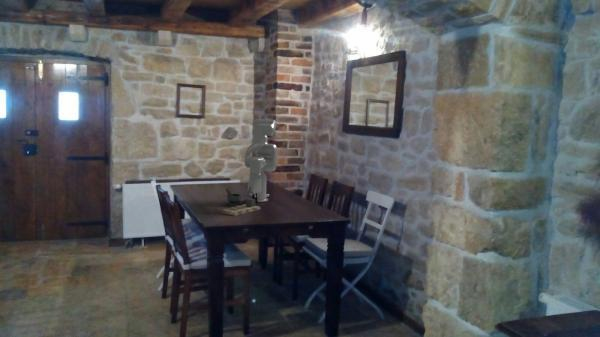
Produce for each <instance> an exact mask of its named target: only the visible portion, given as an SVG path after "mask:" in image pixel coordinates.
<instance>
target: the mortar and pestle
mask: <svg viewBox="0 0 600 337" xmlns="http://www.w3.org/2000/svg"><path fill="white" fill-rule="evenodd" d="M225 191H226V193H227V200H228V202H229V206H233V207H236V206H239V203H240V201H241V199H242V195H241V194H240V193H233V192H232V191H231V190H230V188H229V187H227V188H226V189H225Z"/></svg>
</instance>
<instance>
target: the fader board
mask: <svg viewBox="0 0 600 337" xmlns="http://www.w3.org/2000/svg"><path fill="white" fill-rule="evenodd" d="M259 210H261V205H260V206H259V205H255V206H246V203H245V204H242V205H241V204H240V205H236V206H233V207H229V208H228V207H227V208H223V209H220V214H225V215H230V216H239V215H243V214H246V213H250V212H252V213H253V212H256V211H259Z"/></svg>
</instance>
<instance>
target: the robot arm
mask: <svg viewBox="0 0 600 337" xmlns="http://www.w3.org/2000/svg"><path fill="white" fill-rule="evenodd" d="M252 128H253V137H252V144H250V145H249V146H248V147H247V148H246V151H245V152H244V153H245V154H244V167H246V168H249V179H248V182H247V184H248V185H247V193H248V194H249V196H251V197H250V198H251V199H255V205H256V204H258V203H259V202H260V203H261V202H262V203H265V202H268V201H269V198H268V197H270V194H269V193H267V175H266V173H265V172H275V171H276V169H277V162H278V161H277V160H278V147H277V145H276V144H275V143H268V139H269V138H268V137H273V136H274V135H275V132H276V129H277V121H276V120H275V119H268V118H267V119H266V118H256V119H254V120H253V121H252ZM253 152H255V155H256V156H250V155H251V154H252V153H253Z"/></svg>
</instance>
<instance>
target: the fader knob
mask: <svg viewBox="0 0 600 337" xmlns="http://www.w3.org/2000/svg"><path fill="white" fill-rule="evenodd" d="M251 198H252V197H250V198H249V197H248V198H245V204H246V206H256V204H255V199H251Z"/></svg>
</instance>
